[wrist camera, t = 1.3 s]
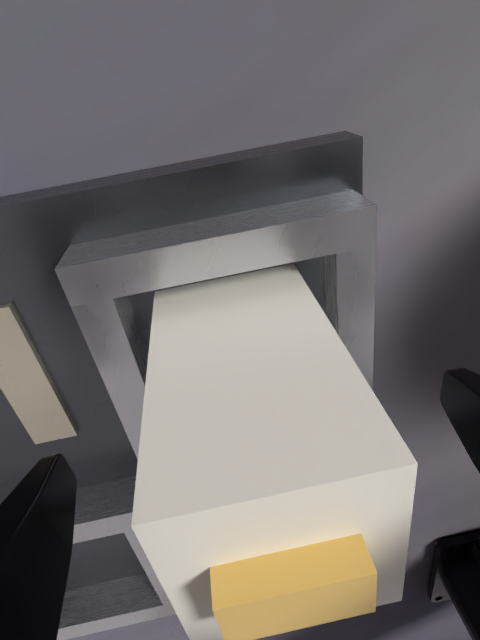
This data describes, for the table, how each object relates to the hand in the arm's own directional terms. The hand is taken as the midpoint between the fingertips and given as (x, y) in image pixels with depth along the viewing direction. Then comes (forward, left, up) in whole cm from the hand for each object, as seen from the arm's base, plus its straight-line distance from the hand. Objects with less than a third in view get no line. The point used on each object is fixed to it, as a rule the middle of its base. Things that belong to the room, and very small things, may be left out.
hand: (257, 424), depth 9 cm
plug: (0, 0, -4) cm, 4 cm away
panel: (-4, +4, -5) cm, 7 cm away
